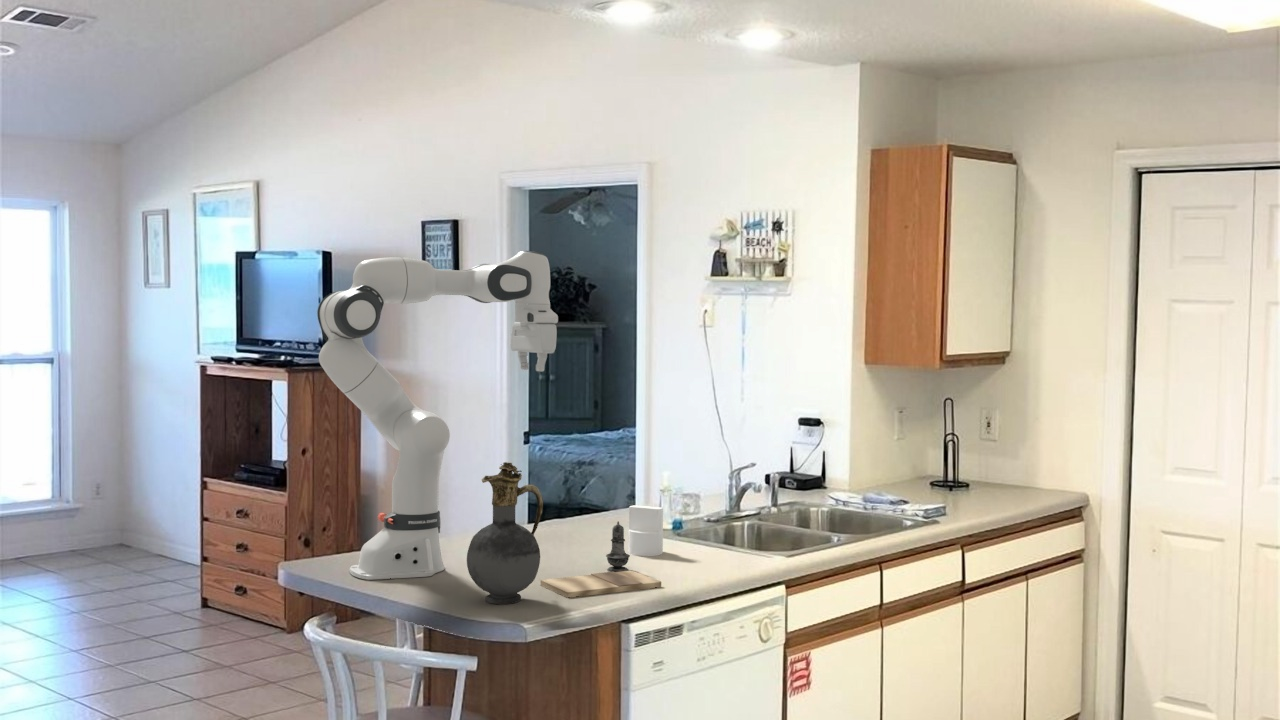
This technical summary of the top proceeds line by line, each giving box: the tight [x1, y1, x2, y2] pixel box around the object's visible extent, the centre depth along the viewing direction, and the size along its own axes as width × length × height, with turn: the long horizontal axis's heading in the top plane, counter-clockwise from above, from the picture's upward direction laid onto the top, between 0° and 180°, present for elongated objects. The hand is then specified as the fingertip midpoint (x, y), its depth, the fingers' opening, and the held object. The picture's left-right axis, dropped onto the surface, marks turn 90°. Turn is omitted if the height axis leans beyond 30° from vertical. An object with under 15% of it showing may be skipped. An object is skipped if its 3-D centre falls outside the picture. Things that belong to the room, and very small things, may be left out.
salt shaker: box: [605, 521, 631, 572], centre depth 303 cm, size 6×6×12 cm
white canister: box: [627, 504, 664, 557], centre depth 325 cm, size 9×9×12 cm
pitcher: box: [466, 461, 544, 605], centre depth 271 cm, size 11×19×30 cm, turn 138°
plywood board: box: [540, 570, 662, 599], centre depth 285 cm, size 24×14×1 cm, turn 120°
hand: (532, 370), depth 314 cm, fingers open, 8 cm apart
